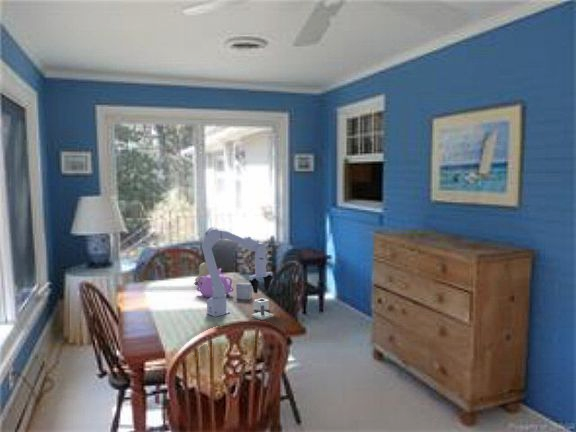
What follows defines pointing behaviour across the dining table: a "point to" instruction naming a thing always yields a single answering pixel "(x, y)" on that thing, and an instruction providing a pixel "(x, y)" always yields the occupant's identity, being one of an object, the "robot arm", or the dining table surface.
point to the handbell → (203, 271)
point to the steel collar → (261, 302)
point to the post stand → (262, 314)
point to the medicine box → (244, 291)
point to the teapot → (207, 285)
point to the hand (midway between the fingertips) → (261, 291)
